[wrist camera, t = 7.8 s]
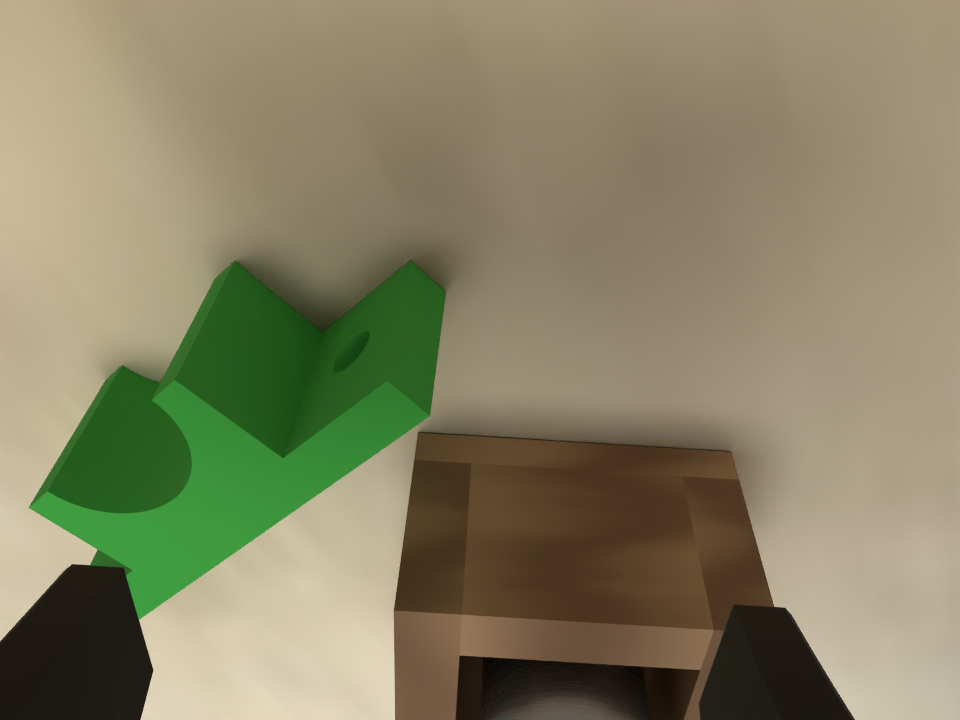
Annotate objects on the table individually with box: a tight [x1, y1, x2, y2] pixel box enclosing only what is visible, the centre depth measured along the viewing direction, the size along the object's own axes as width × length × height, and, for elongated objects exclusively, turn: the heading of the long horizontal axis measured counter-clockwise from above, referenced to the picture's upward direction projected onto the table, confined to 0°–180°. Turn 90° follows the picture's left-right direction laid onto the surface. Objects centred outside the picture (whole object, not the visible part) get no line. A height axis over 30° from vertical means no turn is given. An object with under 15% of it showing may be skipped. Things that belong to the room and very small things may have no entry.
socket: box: [394, 433, 774, 720], centre depth 23 cm, size 8×8×6 cm
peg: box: [480, 657, 649, 720], centre depth 21 cm, size 4×4×8 cm
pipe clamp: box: [29, 260, 446, 619], centre depth 20 cm, size 11×4×5 cm, turn 133°
